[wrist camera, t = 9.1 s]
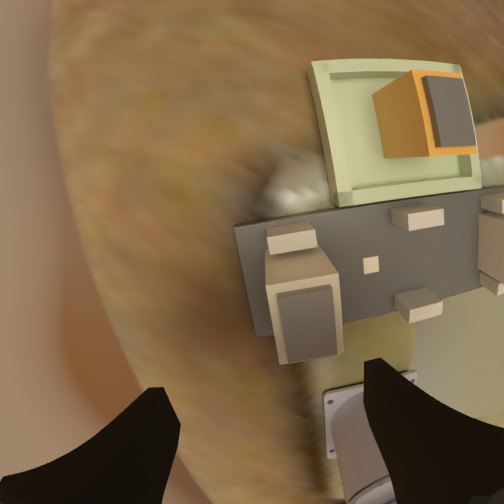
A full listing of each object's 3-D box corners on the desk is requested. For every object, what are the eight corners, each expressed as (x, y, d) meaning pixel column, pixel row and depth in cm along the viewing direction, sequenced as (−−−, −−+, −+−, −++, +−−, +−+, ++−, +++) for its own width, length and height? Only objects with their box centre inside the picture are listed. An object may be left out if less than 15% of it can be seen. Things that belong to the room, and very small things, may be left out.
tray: (464, 185, 17) (481, 188, 15) (331, 203, 18) (339, 207, 16) (444, 71, 15) (459, 65, 13) (306, 72, 16) (311, 61, 14)
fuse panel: (505, 272, 18) (559, 304, 11) (256, 329, 20) (253, 400, 13) (507, 185, 16) (571, 197, 10) (235, 224, 18) (218, 257, 11)
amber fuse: (424, 154, 16) (483, 153, 10) (384, 158, 16) (435, 156, 10) (413, 94, 15) (466, 71, 9) (371, 94, 15) (416, 66, 9)
